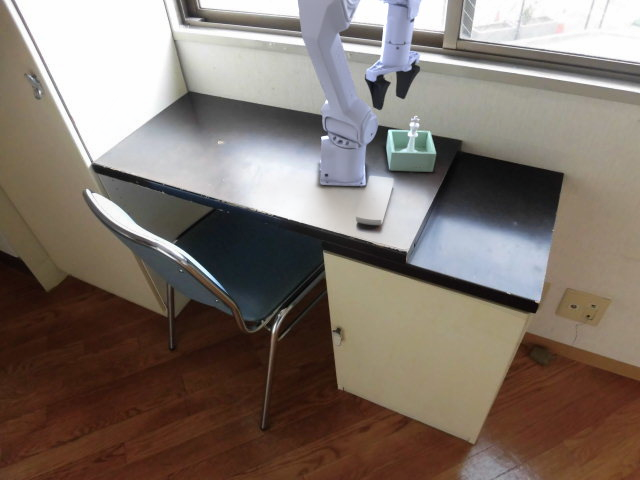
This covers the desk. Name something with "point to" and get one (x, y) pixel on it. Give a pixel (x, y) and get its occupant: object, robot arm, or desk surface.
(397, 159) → the open storage box
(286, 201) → the desk surface
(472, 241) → the desk surface
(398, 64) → the robot arm
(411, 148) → the chess piece
